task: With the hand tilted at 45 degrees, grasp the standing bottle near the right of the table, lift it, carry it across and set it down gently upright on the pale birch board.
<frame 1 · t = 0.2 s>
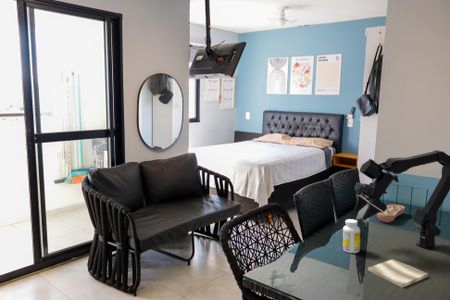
hand: (358, 215, 150), 14 cm above the table, tool tilted 35°, fingers open, 9 cm apart
birch board: (397, 273, 129), on the table
anatomical model: (389, 218, 188), on the table
supplement bottle: (351, 250, 150), on the table
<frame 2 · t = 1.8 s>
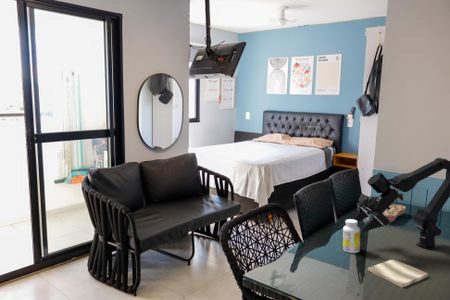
hand: (358, 227, 149), 10 cm above the table, tool tilted 45°, fingers open, 9 cm apart
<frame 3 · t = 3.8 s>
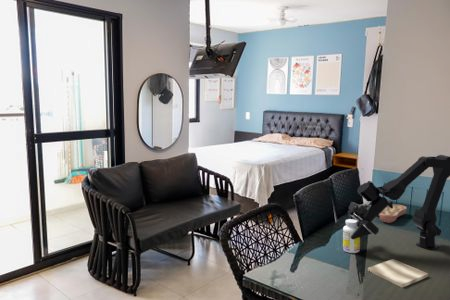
hand: (348, 235, 149), 7 cm above the table, tool tilted 45°, fingers closed on supplement bottle, 7 cm apart
supplement bottle: (351, 250, 150), on the table, touching gripper
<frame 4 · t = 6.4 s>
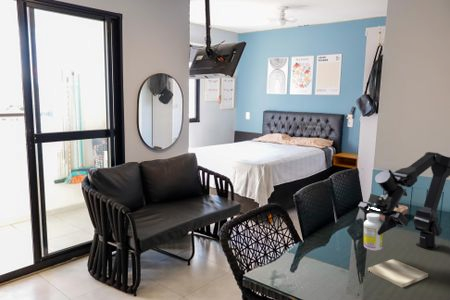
hand: (370, 231, 135), 13 cm above the table, tool tilted 45°, fingers closed on supplement bottle, 7 cm apart
supplement bottle: (372, 247, 136), point 6 cm above the table, touching gripper
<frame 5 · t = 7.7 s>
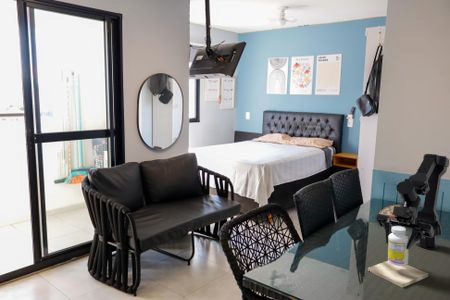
hand: (396, 246, 126), 11 cm above the table, tool tilted 45°, fingers closed on supplement bottle, 7 cm apart
supplement bottle: (397, 262, 128), point 4 cm above the table, touching gripper
when the fingers open (9 cm above the table, at t = 9.0 s): supplement bottle drops 1 cm, resting on birch board.
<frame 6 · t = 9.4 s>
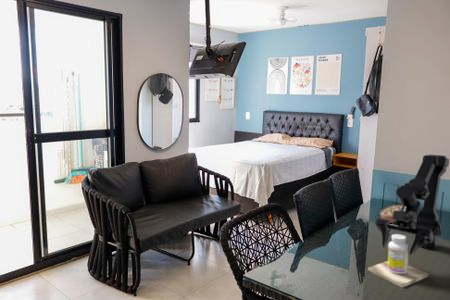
hand: (396, 250, 127), 9 cm above the table, tool tilted 45°, fingers open, 9 cm apart
supplement bottle: (397, 271, 129), point 1 cm above the table, touching birch board
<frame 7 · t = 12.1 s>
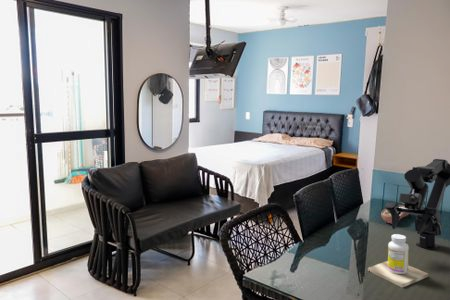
hand: (405, 231, 133), 13 cm above the table, tool tilted 40°, fingers open, 9 cm apart
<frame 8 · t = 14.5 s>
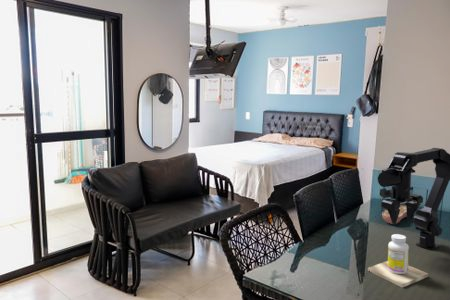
hand: (401, 221, 144), 13 cm above the table, tool pointing down, fingers open, 9 cm apart
at the end: supplement bottle inside the target area on the birch board (0.2 cm from its centre), point 1.0 cm above the birch board's base; supplement bottle tilted 0°; the gripper is holding nothing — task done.
